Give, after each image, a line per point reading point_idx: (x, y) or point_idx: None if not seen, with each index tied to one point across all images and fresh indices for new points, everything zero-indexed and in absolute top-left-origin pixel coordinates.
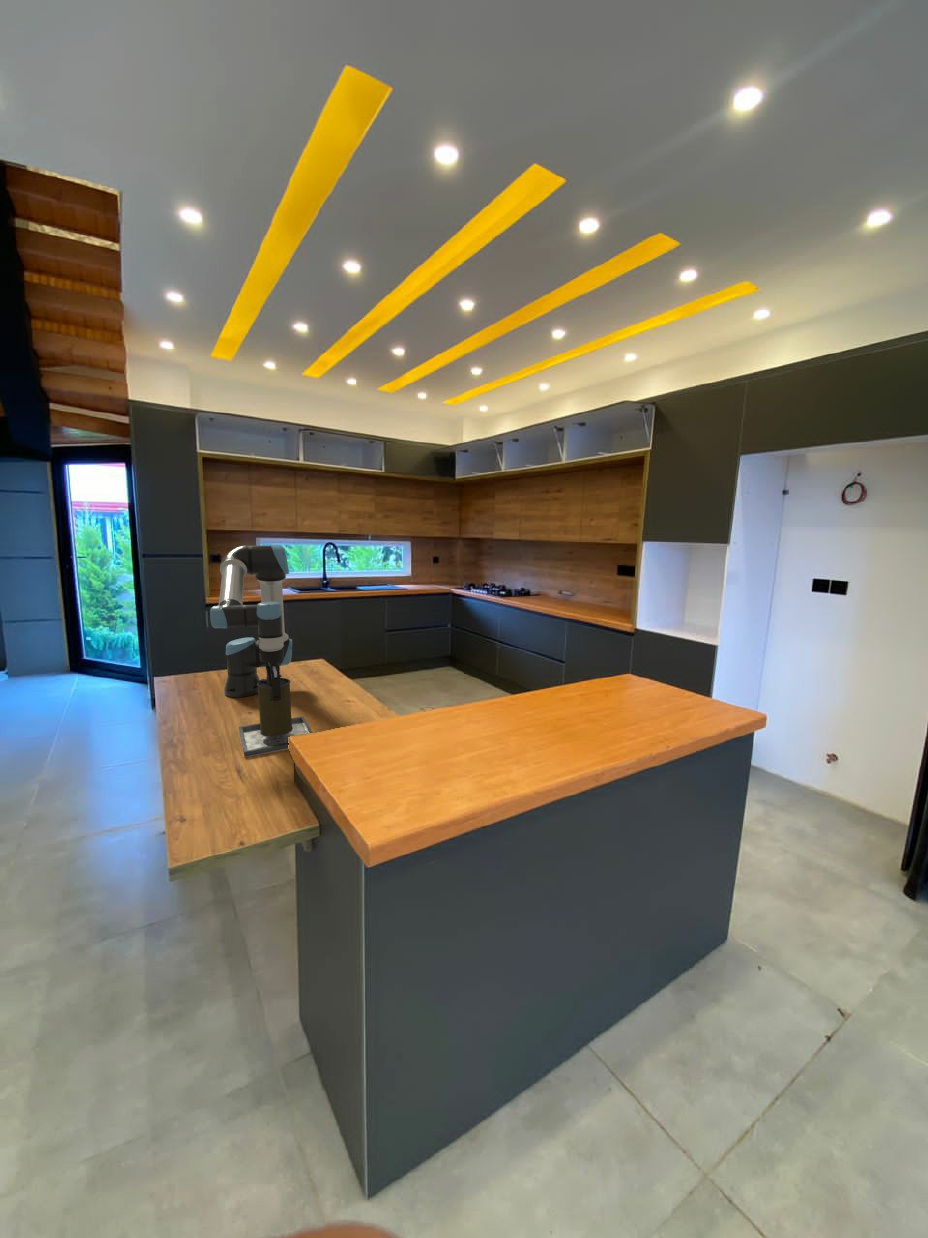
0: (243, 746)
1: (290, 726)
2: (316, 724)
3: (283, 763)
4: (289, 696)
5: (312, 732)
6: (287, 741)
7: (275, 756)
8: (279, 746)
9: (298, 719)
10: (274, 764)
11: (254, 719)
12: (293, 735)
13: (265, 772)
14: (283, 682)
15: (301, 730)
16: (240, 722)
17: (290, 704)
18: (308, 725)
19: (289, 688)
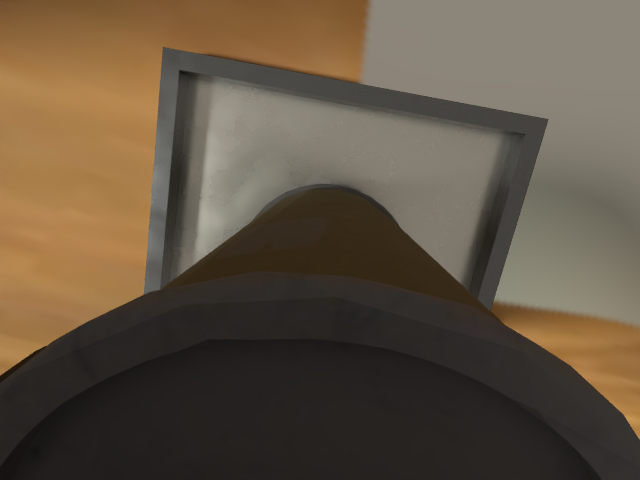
0: None
1: (386, 215)
2: (271, 8)
3: (608, 322)
4: (436, 264)
5: (451, 101)
6: (414, 238)
7: (517, 327)
8: (489, 305)
9: (181, 89)
10: (588, 354)
11: (19, 276)
12: (361, 187)
13: (627, 400)
14: (339, 430)
15: (322, 126)
16: (30, 340)
17: (390, 226)
18: (333, 80)
19: (440, 285)
